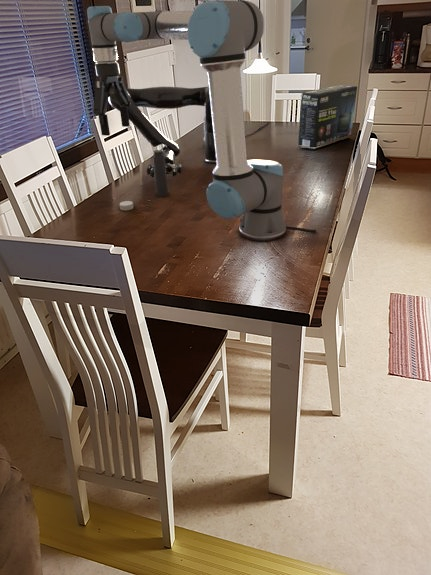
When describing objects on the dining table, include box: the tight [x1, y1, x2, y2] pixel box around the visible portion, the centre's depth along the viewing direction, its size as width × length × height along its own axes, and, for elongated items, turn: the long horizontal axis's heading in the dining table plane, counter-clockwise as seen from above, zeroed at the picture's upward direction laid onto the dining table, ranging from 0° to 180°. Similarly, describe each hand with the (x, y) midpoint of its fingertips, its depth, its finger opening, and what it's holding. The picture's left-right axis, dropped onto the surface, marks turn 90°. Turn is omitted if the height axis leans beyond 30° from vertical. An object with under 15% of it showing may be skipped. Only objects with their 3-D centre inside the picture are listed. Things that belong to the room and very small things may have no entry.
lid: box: [119, 200, 134, 212], centre depth 172 cm, size 5×5×2 cm
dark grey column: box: [152, 149, 169, 197], centre depth 180 cm, size 5×5×17 cm
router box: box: [297, 84, 358, 151], centre depth 238 cm, size 36×11×27 cm, turn 134°
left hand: (163, 174), depth 185 cm, fingers open, 8 cm apart
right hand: (116, 130), depth 158 cm, fingers open, 13 cm apart
